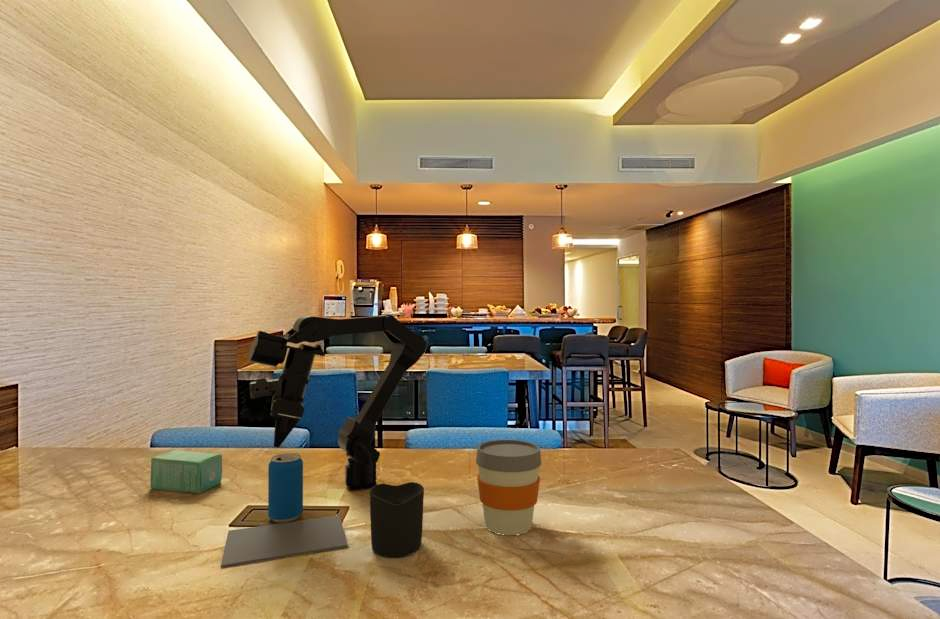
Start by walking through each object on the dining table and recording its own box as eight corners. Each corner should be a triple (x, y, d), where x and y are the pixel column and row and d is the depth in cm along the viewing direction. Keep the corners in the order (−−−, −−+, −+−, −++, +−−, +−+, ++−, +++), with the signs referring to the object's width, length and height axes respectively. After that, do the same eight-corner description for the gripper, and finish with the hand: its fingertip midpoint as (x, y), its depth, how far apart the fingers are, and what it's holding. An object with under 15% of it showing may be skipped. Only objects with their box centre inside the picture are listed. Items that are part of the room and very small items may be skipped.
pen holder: (400, 565, 81) (400, 503, 81) (357, 550, 86) (358, 492, 86) (434, 542, 89) (434, 486, 89) (393, 530, 94) (394, 477, 94)
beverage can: (274, 511, 103) (274, 452, 103) (306, 510, 104) (306, 452, 104) (263, 524, 97) (263, 462, 97) (298, 523, 97) (298, 461, 97)
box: (200, 494, 113) (200, 461, 113) (149, 490, 115) (149, 457, 115) (223, 483, 120) (223, 452, 120) (174, 479, 122) (174, 449, 123)
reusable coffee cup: (496, 546, 88) (497, 460, 88) (464, 519, 99) (464, 443, 99) (554, 531, 94) (554, 451, 94) (518, 508, 105) (518, 436, 105)
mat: (339, 517, 100) (339, 515, 100) (348, 547, 88) (348, 544, 88) (228, 532, 93) (228, 530, 93) (220, 567, 80) (220, 565, 80)
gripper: (259, 361, 117) (239, 428, 114) (256, 365, 99) (233, 444, 97) (308, 372, 120) (289, 437, 118) (313, 377, 103) (292, 454, 101)
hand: (276, 442), depth 108 cm, fingers open, 9 cm apart
